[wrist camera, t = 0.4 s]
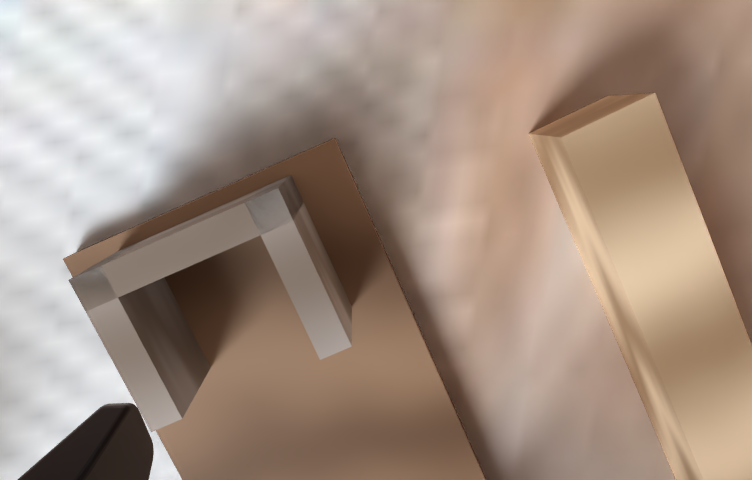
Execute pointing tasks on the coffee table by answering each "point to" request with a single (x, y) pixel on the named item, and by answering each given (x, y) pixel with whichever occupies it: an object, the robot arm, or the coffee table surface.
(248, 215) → the end cap base
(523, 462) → the coffee table surface
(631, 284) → the birch slat
